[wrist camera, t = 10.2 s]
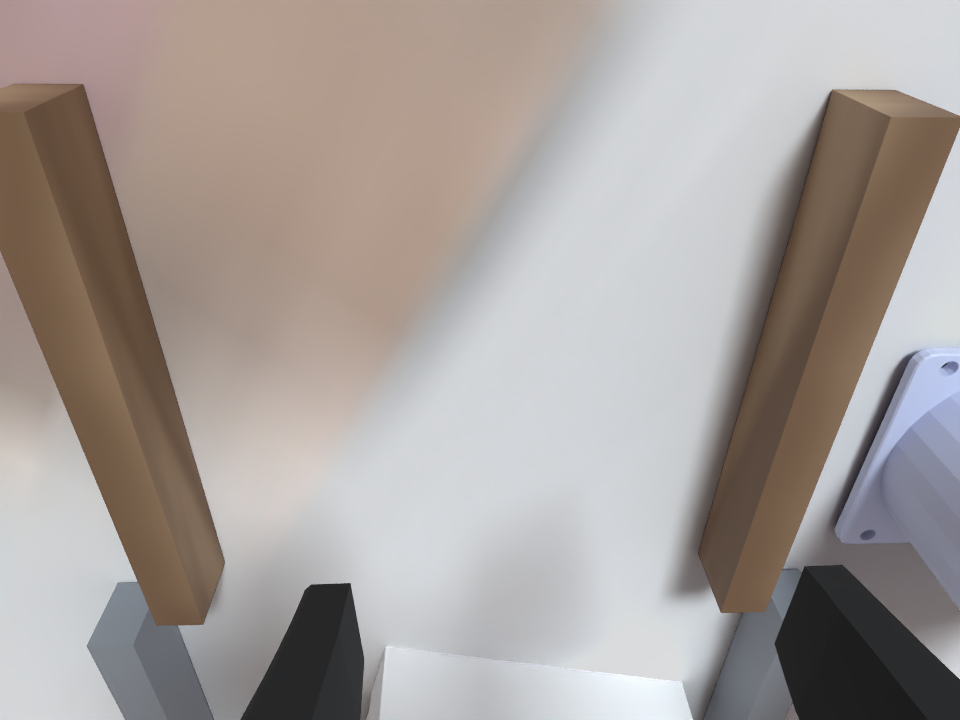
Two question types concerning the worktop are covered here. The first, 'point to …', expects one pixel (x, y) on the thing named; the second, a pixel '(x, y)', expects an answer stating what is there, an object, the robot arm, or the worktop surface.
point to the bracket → (513, 691)
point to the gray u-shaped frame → (186, 716)
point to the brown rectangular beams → (760, 423)
